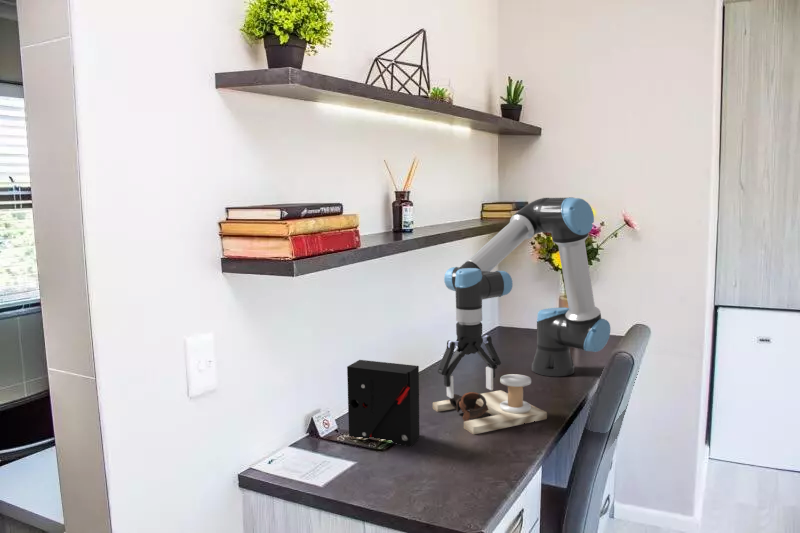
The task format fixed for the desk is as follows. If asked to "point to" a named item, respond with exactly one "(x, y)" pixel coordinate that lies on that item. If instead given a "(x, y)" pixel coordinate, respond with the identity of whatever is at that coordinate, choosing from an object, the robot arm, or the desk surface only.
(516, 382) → the spool
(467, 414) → the pottery mug
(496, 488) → the desk surface
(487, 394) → the notched board
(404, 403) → the electrical component
